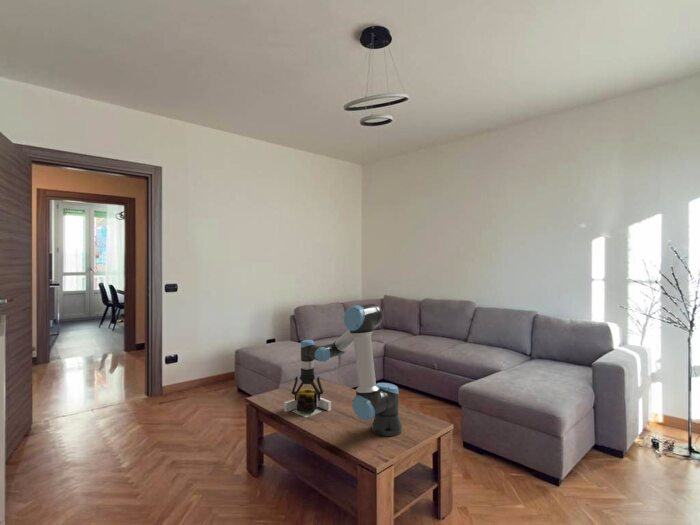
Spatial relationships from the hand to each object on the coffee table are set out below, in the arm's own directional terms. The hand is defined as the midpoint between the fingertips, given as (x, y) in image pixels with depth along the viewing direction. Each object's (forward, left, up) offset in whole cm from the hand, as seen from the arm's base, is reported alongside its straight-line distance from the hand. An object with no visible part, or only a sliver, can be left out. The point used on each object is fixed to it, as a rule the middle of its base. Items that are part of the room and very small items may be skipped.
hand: (307, 406), depth 218 cm
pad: (0, 0, -3) cm, 3 cm away
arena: (0, -1, -3) cm, 3 cm away
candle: (0, 0, -2) cm, 2 cm away
